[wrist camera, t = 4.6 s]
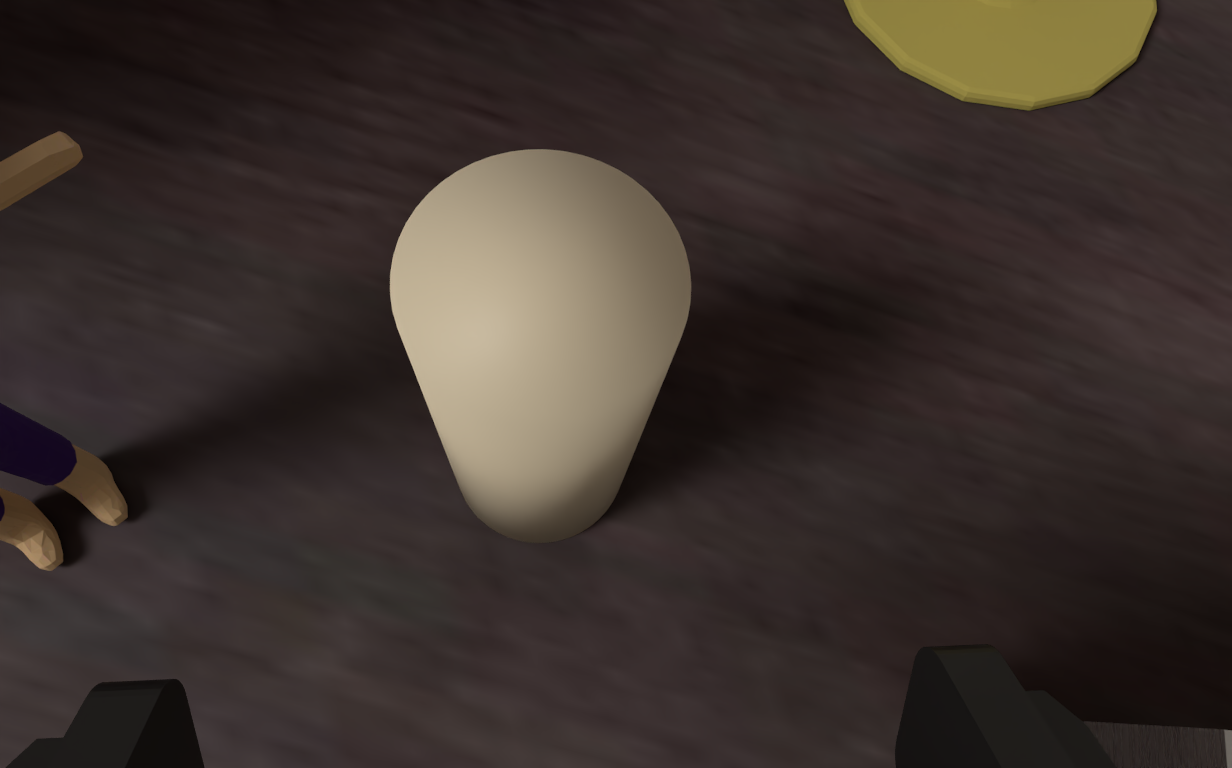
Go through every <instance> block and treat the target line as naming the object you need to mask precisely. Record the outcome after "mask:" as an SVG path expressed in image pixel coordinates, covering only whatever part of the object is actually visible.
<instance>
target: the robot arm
mask: <svg viewBox="0 0 1232 768" xmlns="http://www.w3.org/2000/svg"><path fill="white" fill-rule="evenodd" d="M895 761H896V768H1117V767H1116V765H1115V764H1114V763H1113V761H1112V760H1111V758H1110V757H1109V755H1108V754H1107V753H1106V751H1105V750H1104V748H1103V747H1102V746H1101V744H1100V743H1099V741H1098V740H1097V738H1096V737H1095V736H1094V734H1093V733H1092V731H1091V730H1090V729H1089V727H1088V726H1087V725H1086V724H1085V723H1084V722H1082V721H1081V720H1080V719H1079V718H1077V717H1076V716H1075V715H1074V714H1073V713H1071V712H1070V711H1069V710H1068V709H1066V708H1065V707H1064V706H1063V705H1062V704H1060V703H1059V702H1058V701H1057V700H1055V699H1054V698H1053V697H1052V696H1051V695H1049V694H1048V693H1047V692H1046V691H1044V690H1038V691H1025V690H1024V689H1023V687H1022V686H1021V684H1020V683H1019V681H1018V679H1017V678H1016V676H1015V675H1014V673H1013V672H1012V670H1011V669H1010V667H1009V666H1008V664H1007V663H1006V661H1005V660H1004V658H1003V657H1002V655H1001V654H1000V653H999V651H998V650H997V649H995V648H994V647H993V646H991V645H988V644H980V645H959V646H937V647H923V648H921V649H920V650H919V651H918V653H917V655H916V657H915V661H914V665H913V669H912V674H911V678H910V683H909V687H908V692H907V696H906V700H905V705H904V709H903V714H902V718H901V722H900V727H899V731H898V736H897V741H896V749H895ZM6 768H204V764H203V760H202V756H201V752H200V748H199V744H198V740H197V736H196V732H195V728H194V724H193V720H192V716H191V712H190V708H189V704H188V700H187V696H186V693H185V689H184V687H183V685H182V683H181V682H180V681H179V680H177V679H166V680H145V681H123V682H102V683H100V684H98V685H96V686H95V687H94V688H93V689H92V690H91V691H90V692H89V694H88V696H87V697H86V699H85V700H84V702H83V704H82V706H81V707H80V709H79V711H78V713H77V715H76V716H75V718H74V720H73V722H72V723H71V725H70V727H69V729H68V730H67V732H66V734H65V736H64V738H46V739H36V740H35V741H34V742H33V743H32V744H31V745H30V746H29V747H28V748H26V749H25V750H24V751H23V752H22V753H21V754H20V755H19V756H18V757H17V758H16V759H14V760H13V761H12V762H11V763H10V764H9V765H8V766H7V767H6Z"/></svg>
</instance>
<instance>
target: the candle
mask: <svg viewBox="0 0 1232 768" xmlns="http://www.w3.org/2000/svg"><path fill="white" fill-rule="evenodd" d="M844 1H845V4H846V6H847V8H848V11H849V13H850V15H851V17H852V20H853V22H854V24H855V25H856V26H857V27H858V28H859V29H860V30H861V31H862V32H863V33H864V34H865V35H866V36H867V37H868V38H869V39H870V40H871V41H872V42H873V43H874V44H875V45H876V46H877V47H878V48H879V49H880V50H881V51H882V52H883V53H884V54H885V55H886V56H887V57H888V58H889V59H890V60H891V61H892V62H893V63H894V64H895V65H896V66H897V67H898V68H899V69H900V70H901V71H903V72H905V73H907V74H909V75H911V76H913V77H915V78H917V79H919V80H921V81H923V82H925V83H927V84H929V85H931V86H933V87H935V88H937V89H939V90H941V91H943V92H945V93H947V94H949V95H951V96H953V97H955V98H957V99H959V100H961V101H966V102H973V103H980V104H987V105H994V106H1001V107H1008V108H1015V109H1021V110H1028V111H1030V110H1034V109H1039V108H1044V107H1048V106H1053V105H1057V104H1062V103H1067V102H1071V101H1076V100H1080V99H1085V98H1089V97H1091V96H1092V95H1093V94H1095V93H1096V92H1097V91H1098V90H1100V89H1101V88H1102V87H1104V86H1105V85H1106V84H1108V83H1109V82H1110V81H1112V80H1113V79H1114V78H1115V77H1117V76H1118V75H1119V74H1121V73H1122V72H1123V71H1125V70H1126V69H1127V68H1129V67H1130V66H1131V65H1132V64H1133V63H1134V62H1135V61H1136V60H1137V57H1138V55H1139V53H1140V50H1141V48H1142V46H1143V43H1144V41H1145V39H1146V36H1147V34H1148V32H1149V29H1150V27H1151V25H1152V22H1153V20H1154V18H1155V15H1156V12H1157V6H1156V0H844Z"/></svg>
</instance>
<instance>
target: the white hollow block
mask: <svg viewBox="0 0 1232 768" xmlns="http://www.w3.org/2000/svg"><path fill="white" fill-rule="evenodd" d="M1082 722H1084V723H1085V724H1086V725H1087V726H1088V727H1089V729H1090V730H1091V731H1092V733H1093V734H1094V736H1095V737H1096V738H1097V740H1098V741H1099V743H1100V744H1101V746H1102V747H1103V748H1104V750H1105V751H1106V753H1107V754H1108V755H1109V757H1110V758H1111V760H1112V761H1113V763H1114V764H1115V765H1116V767H1117V768H1232V731H1231V730H1224V729H1207V728H1190V727H1173V726H1156V725H1139V724H1122V723H1105V722H1088V721H1082Z"/></svg>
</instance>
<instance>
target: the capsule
mask: <svg viewBox="0 0 1232 768" xmlns="http://www.w3.org/2000/svg"><path fill="white" fill-rule="evenodd" d="M390 297H391V304H392V311H393V315H394V318H395V322H396V325H397V329H398V331H399V334H400V336H401V339H402V342H403V344H404V347H405V349H406V352H407V354H408V357H409V359H410V362H411V365H412V367H413V370H414V372H415V375H416V377H417V380H418V383H419V385H420V388H421V390H422V393H423V395H424V398H425V401H426V403H427V406H428V408H429V411H430V413H431V416H432V418H433V421H434V424H435V426H436V429H437V431H438V434H439V436H440V439H441V442H442V444H443V447H444V449H445V452H446V454H447V457H448V460H449V462H450V465H451V467H452V470H453V472H454V475H455V477H456V480H457V483H458V485H459V488H460V490H461V492H462V495H463V497H464V499H465V501H466V502H467V504H468V505H469V507H470V509H471V510H472V511H473V512H474V513H475V515H476V516H477V517H478V518H479V519H480V520H481V521H482V522H483V523H485V524H486V525H487V526H489V527H490V528H491V529H493V530H494V531H496V532H498V533H500V534H502V535H504V536H506V537H509V538H512V539H515V540H519V541H523V542H530V543H550V542H555V541H561V540H564V539H567V538H570V537H572V536H575V535H577V534H579V533H581V532H583V531H584V530H586V529H587V528H589V527H590V526H592V525H593V524H594V523H595V522H596V521H598V520H599V519H600V518H601V517H602V516H603V514H604V513H605V512H606V511H607V510H608V508H609V507H610V505H611V504H612V503H613V501H614V499H615V497H616V495H617V493H618V491H619V488H620V486H621V484H622V481H623V479H624V476H625V474H626V471H627V469H628V466H629V464H630V462H631V459H632V457H633V454H634V452H635V449H636V447H637V444H638V442H639V440H640V437H641V435H642V432H643V430H644V427H645V425H646V422H647V420H648V418H649V415H650V413H651V410H652V408H653V405H654V403H655V400H656V398H657V396H658V393H659V391H660V388H661V386H662V383H663V381H664V378H665V376H666V373H667V371H668V369H669V366H670V364H671V361H672V359H673V356H674V354H675V351H676V349H677V347H678V344H679V342H680V339H681V337H682V334H683V331H684V328H685V325H686V322H687V318H688V313H689V308H690V302H691V277H690V267H689V263H688V259H687V255H686V251H685V248H684V245H683V243H682V240H681V238H680V235H679V233H678V231H677V229H676V227H675V226H674V224H673V222H672V220H671V218H670V217H669V216H668V214H667V213H666V212H665V210H664V209H663V208H662V206H661V205H660V203H659V202H658V201H657V200H656V199H655V198H654V197H653V196H652V195H651V194H650V193H649V192H648V191H647V190H646V189H645V188H643V187H642V186H641V185H640V184H638V183H637V182H636V181H635V180H634V179H632V178H631V177H629V176H627V175H626V174H624V173H623V172H621V171H619V170H618V169H616V168H614V167H612V166H610V165H607V164H605V163H603V162H601V161H598V160H596V159H593V158H590V157H587V156H584V155H580V154H575V153H570V152H566V151H557V150H548V149H535V150H520V151H512V152H507V153H502V154H498V155H494V156H490V157H488V158H485V159H482V160H480V161H477V162H474V163H472V164H470V165H468V166H466V167H464V168H462V169H461V170H459V171H457V172H455V173H454V174H452V175H451V176H449V177H448V178H446V179H445V180H444V181H442V182H441V183H440V184H439V185H437V186H436V187H435V188H434V189H433V190H432V191H431V192H430V193H428V195H427V196H426V197H425V198H424V199H423V200H422V201H421V203H420V204H419V205H418V206H417V207H416V209H415V210H414V212H413V213H412V215H411V216H410V218H409V219H408V221H407V222H406V224H405V226H404V228H403V230H402V233H401V235H400V237H399V239H398V242H397V245H396V248H395V252H394V255H393V260H392V266H391V272H390Z"/></svg>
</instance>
